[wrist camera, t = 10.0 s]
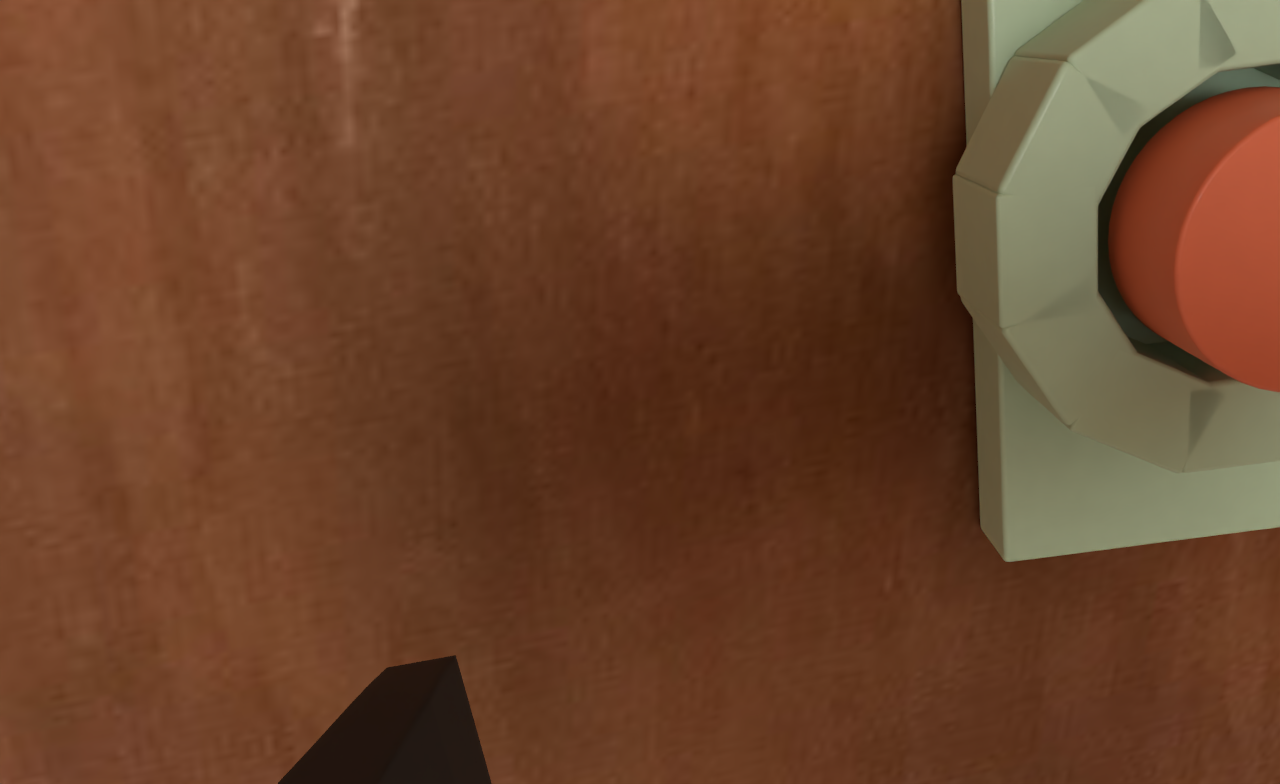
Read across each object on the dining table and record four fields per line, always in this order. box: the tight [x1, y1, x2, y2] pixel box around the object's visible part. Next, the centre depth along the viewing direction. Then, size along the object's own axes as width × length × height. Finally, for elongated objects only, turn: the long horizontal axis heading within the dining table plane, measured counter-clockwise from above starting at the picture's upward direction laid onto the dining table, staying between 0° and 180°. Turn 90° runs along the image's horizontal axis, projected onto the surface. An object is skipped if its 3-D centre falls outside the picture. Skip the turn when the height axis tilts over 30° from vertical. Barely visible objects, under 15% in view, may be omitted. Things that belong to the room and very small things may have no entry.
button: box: [1108, 86, 1280, 392], centre depth 13 cm, size 3×3×2 cm
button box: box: [953, 0, 1280, 562], centre depth 15 cm, size 10×6×3 cm, turn 7°
